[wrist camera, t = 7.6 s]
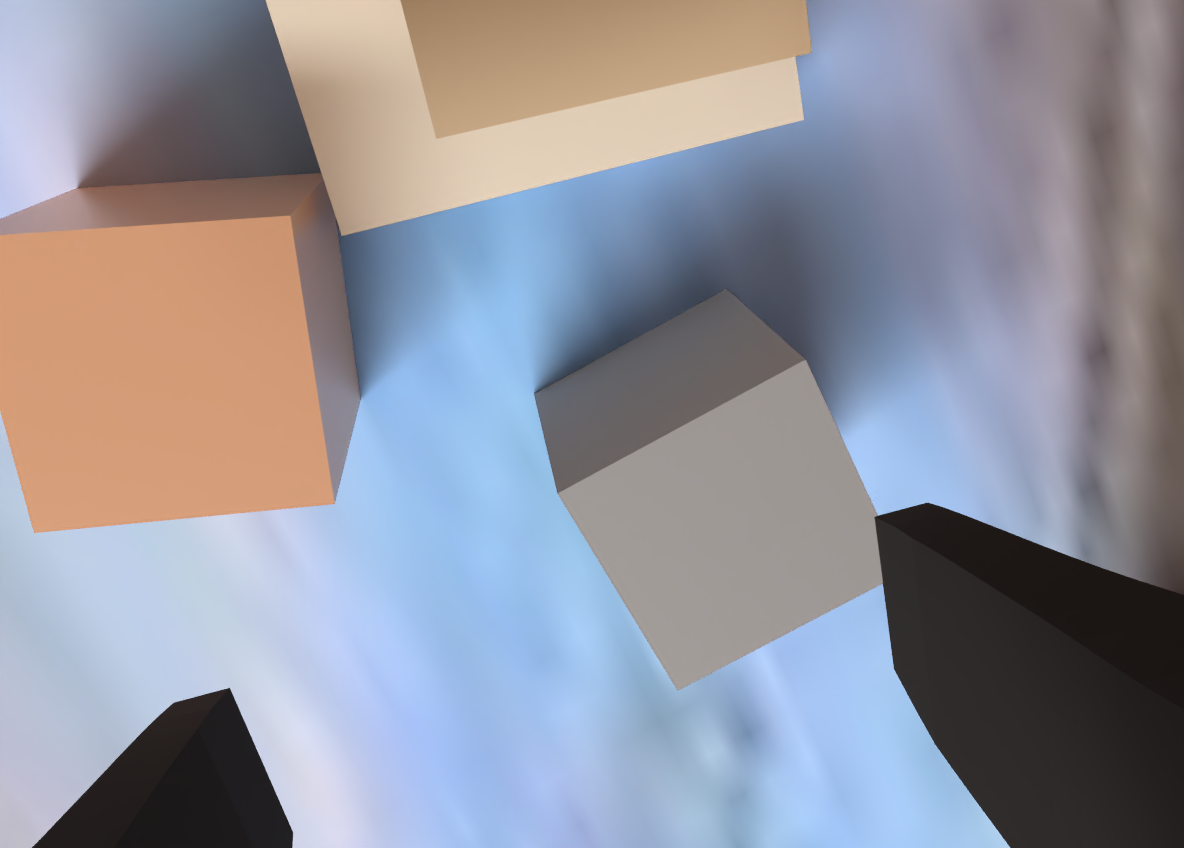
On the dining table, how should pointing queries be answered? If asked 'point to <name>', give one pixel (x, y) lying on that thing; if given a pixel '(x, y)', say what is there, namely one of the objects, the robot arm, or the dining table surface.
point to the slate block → (711, 486)
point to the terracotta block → (176, 351)
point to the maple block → (583, 51)
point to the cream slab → (489, 155)
